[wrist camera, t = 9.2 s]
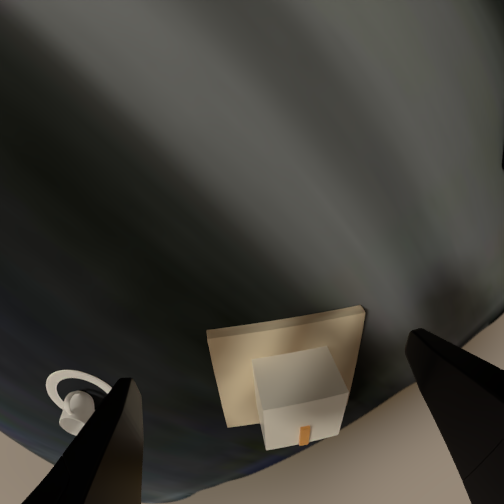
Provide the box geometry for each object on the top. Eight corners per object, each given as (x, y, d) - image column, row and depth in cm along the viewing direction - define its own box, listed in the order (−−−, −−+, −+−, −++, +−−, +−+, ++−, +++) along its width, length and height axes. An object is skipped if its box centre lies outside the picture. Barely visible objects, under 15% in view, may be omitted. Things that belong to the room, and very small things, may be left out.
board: (360, 304, 24) (382, 336, 21) (343, 397, 30) (356, 426, 26) (206, 330, 23) (209, 369, 20) (226, 419, 29) (231, 452, 25)
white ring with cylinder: (120, 428, 29) (116, 460, 25) (50, 408, 26) (42, 438, 23) (128, 380, 25) (122, 417, 22) (45, 355, 23) (31, 389, 19)
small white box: (326, 345, 24) (350, 395, 20) (321, 391, 27) (339, 437, 23) (251, 359, 24) (263, 413, 19) (256, 404, 27) (266, 453, 22)
